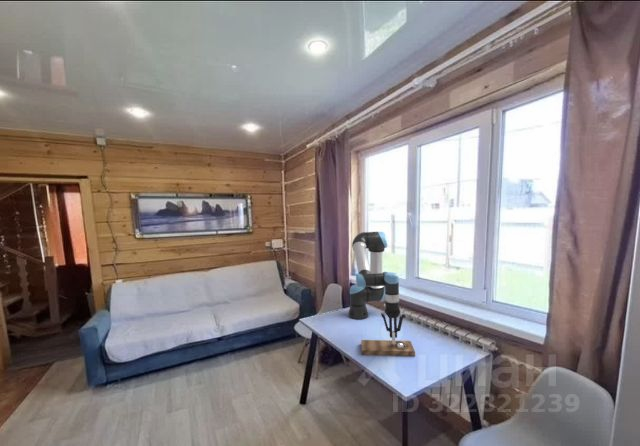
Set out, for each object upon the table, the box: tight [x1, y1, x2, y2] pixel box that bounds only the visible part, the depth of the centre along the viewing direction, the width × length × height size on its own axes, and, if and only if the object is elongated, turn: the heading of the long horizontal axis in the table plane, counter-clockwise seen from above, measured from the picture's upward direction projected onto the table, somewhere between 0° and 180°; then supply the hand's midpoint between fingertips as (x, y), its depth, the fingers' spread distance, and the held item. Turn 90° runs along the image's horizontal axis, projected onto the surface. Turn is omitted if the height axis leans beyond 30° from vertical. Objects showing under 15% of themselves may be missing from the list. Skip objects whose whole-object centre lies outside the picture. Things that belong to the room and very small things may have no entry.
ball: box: [397, 343, 404, 348], centre depth 148 cm, size 4×4×4 cm
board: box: [360, 339, 416, 357], centre depth 149 cm, size 28×12×2 cm, turn 83°
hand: (393, 343), depth 148 cm, fingers closed
